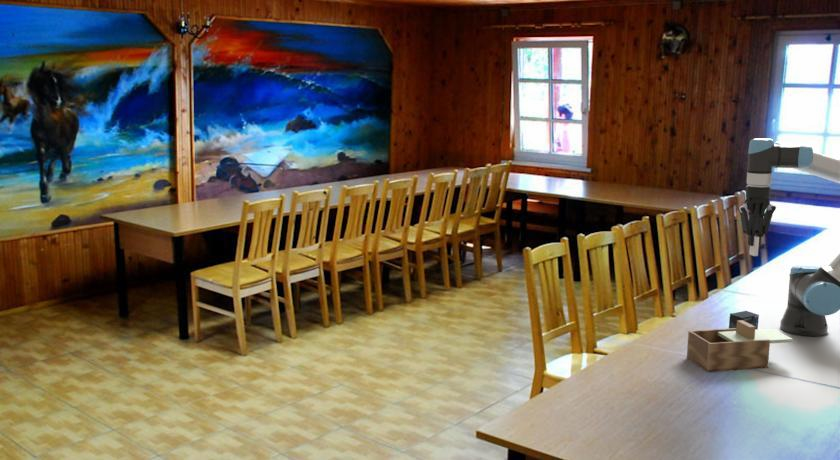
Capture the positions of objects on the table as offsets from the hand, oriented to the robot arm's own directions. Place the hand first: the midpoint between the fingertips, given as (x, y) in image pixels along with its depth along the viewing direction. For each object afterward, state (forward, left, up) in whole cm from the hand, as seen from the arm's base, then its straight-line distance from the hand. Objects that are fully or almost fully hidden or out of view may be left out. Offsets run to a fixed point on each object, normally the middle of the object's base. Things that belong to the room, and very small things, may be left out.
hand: (753, 255), depth 272 cm
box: (+5, +5, -30) cm, 30 cm away
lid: (+11, +21, -22) cm, 32 cm away
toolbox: (+20, +21, -29) cm, 41 cm away
